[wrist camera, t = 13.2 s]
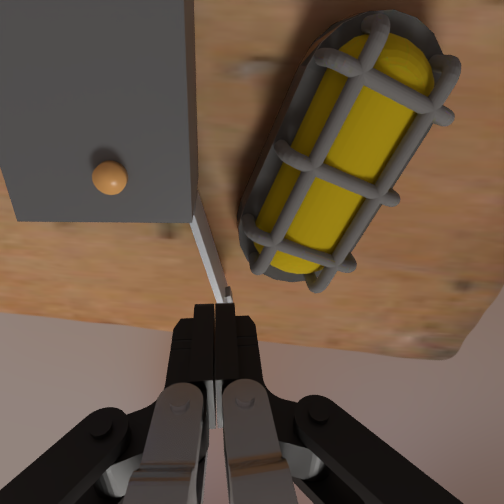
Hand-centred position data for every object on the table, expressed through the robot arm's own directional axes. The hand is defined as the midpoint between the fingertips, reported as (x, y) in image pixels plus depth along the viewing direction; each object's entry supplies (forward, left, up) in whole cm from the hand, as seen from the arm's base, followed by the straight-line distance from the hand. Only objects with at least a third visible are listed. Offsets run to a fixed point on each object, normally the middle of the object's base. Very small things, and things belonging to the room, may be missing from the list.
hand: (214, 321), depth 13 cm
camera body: (-5, -10, -29) cm, 31 cm away
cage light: (+2, +12, -30) cm, 32 cm away
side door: (+11, 0, -28) cm, 30 cm away
